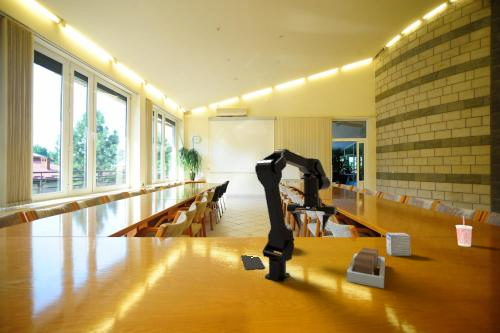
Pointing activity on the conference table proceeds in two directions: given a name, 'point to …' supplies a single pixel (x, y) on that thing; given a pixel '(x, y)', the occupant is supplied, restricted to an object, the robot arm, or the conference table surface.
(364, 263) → the brown block
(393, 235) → the medicine box
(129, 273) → the conference table surface
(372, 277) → the peg frame
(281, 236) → the robot arm
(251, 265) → the phone
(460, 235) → the beverage cup
